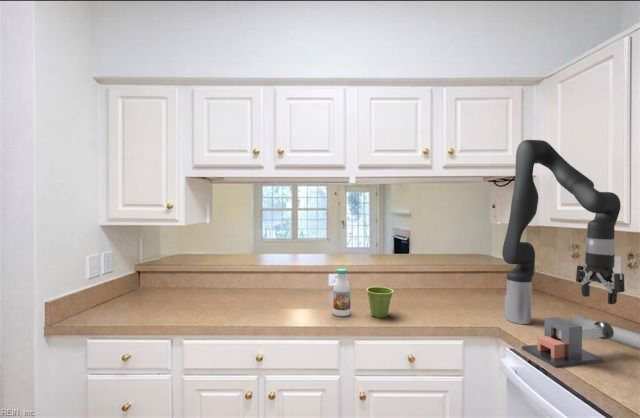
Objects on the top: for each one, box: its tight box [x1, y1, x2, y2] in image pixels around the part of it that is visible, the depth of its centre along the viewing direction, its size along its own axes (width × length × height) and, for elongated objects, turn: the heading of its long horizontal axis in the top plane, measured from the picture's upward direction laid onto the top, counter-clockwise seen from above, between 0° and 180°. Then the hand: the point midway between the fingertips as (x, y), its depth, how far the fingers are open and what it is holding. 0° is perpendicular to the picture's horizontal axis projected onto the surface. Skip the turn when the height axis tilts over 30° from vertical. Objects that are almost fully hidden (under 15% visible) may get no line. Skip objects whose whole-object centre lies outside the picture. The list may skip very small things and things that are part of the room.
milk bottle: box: [332, 268, 351, 317], centre depth 152 cm, size 8×8×20 cm
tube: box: [570, 315, 640, 350], centre depth 127 cm, size 5×5×25 cm
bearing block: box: [521, 316, 605, 368], centre depth 111 cm, size 13×18×11 cm
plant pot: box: [366, 286, 394, 318], centre depth 151 cm, size 12×12×11 cm
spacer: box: [536, 336, 565, 358], centre depth 111 cm, size 6×4×4 cm, turn 12°
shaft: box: [556, 320, 614, 340], centre depth 113 cm, size 6×18×6 cm, turn 102°
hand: (598, 300), depth 114 cm, fingers open, 8 cm apart
